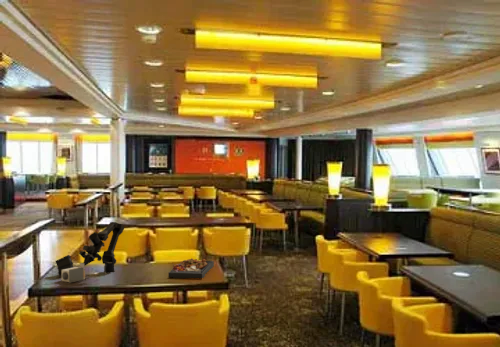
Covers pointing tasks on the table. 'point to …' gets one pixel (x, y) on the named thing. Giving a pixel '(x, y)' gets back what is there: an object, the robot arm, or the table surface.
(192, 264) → the food platter
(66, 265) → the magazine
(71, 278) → the side door
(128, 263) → the table surface
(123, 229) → the robot arm
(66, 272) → the block
